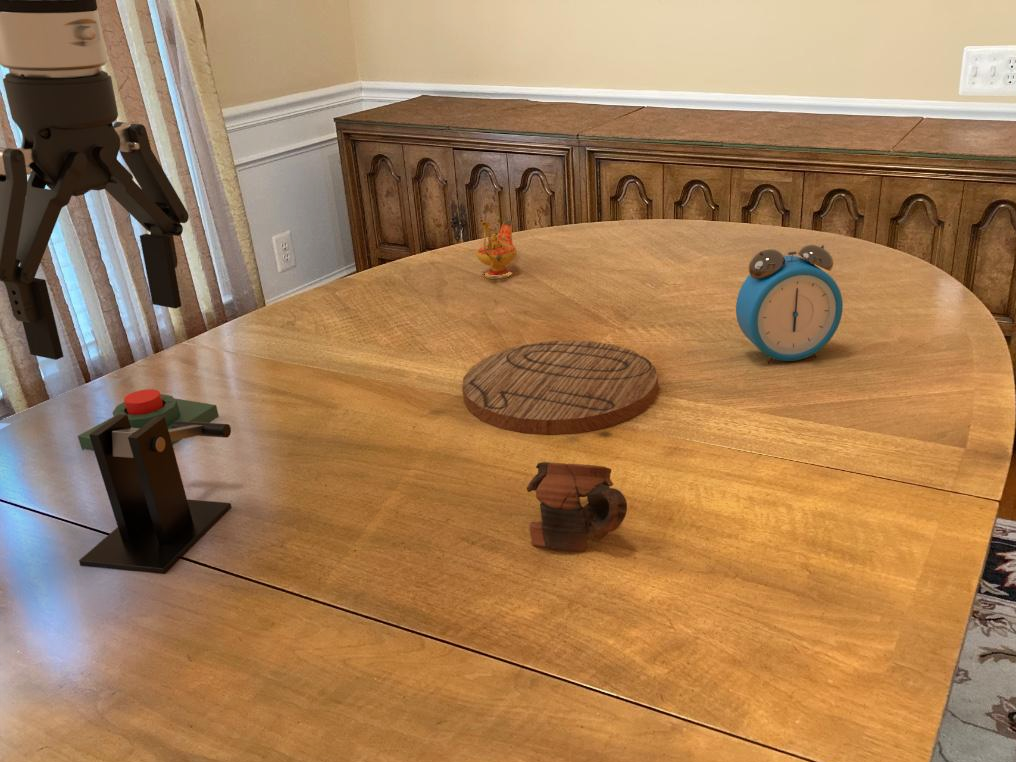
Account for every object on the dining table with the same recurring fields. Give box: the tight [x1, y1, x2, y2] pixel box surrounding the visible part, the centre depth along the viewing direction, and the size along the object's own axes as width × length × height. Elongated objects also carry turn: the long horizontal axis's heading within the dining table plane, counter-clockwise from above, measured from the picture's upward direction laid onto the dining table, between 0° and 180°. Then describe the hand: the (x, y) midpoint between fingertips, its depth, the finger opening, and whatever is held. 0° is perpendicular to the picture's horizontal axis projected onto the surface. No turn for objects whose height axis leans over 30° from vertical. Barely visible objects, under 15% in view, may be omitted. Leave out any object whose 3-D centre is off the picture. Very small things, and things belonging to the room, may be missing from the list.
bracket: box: [78, 414, 232, 575], centre depth 94 cm, size 12×9×13 cm
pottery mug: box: [526, 461, 628, 552], centre depth 95 cm, size 12×10×8 cm
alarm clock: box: [735, 244, 844, 365], centre depth 130 cm, size 13×6×15 cm, turn 103°
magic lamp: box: [476, 220, 517, 280], centre depth 169 cm, size 7×18×11 cm, turn 171°
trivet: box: [461, 339, 659, 436], centre depth 126 cm, size 25×25×2 cm
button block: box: [77, 393, 220, 451], centre depth 117 cm, size 10×12×4 cm
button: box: [123, 388, 164, 415], centre depth 116 cm, size 4×4×2 cm
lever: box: [112, 421, 232, 458], centre depth 97 cm, size 13×6×2 cm, turn 169°
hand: (111, 329), depth 85 cm, fingers open, 13 cm apart
